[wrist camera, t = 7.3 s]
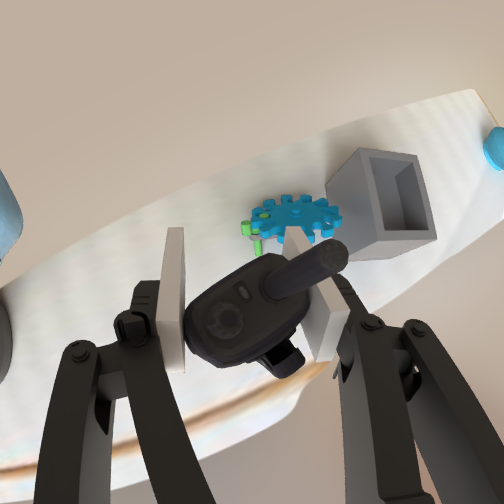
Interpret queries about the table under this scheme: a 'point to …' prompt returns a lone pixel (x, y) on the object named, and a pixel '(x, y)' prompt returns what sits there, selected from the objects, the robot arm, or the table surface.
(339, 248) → the two-way radio
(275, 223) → the gear
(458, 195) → the table surface
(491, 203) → the table surface
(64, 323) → the table surface
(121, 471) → the table surface
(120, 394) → the robot arm
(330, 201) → the charging dock
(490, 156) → the perfume bottle
